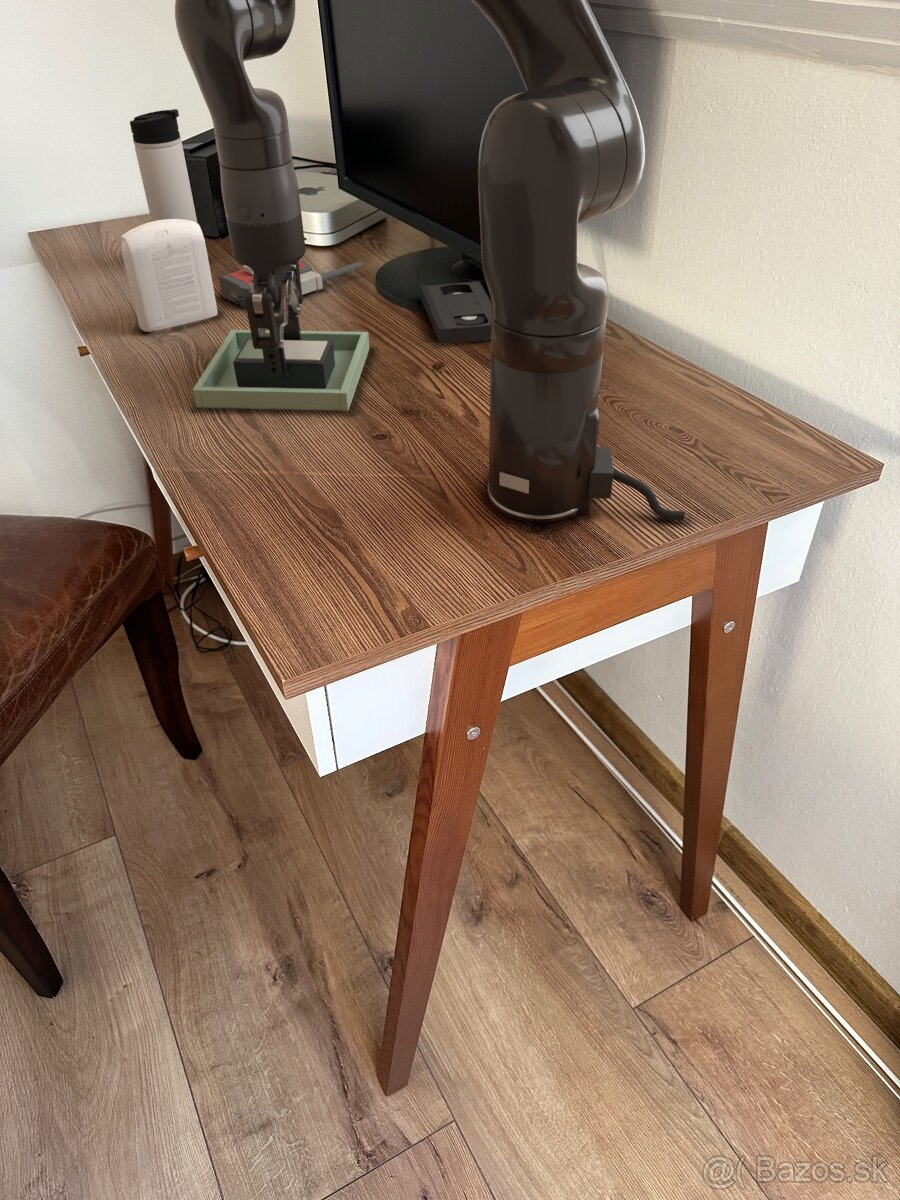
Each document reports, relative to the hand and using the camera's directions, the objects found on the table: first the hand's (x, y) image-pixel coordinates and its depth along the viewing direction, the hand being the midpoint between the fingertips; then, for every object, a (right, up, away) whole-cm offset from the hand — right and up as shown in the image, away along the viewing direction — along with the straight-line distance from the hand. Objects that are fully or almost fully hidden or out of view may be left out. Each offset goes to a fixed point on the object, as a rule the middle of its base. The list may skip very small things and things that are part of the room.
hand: (285, 362), depth 100 cm
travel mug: (-21, +23, +31) cm, 43 cm away
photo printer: (-16, +9, +14) cm, 23 cm away
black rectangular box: (0, -1, +1) cm, 2 cm away
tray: (0, -2, +1) cm, 2 cm away
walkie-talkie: (-3, +16, +23) cm, 28 cm away
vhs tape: (+20, +9, +13) cm, 26 cm away
